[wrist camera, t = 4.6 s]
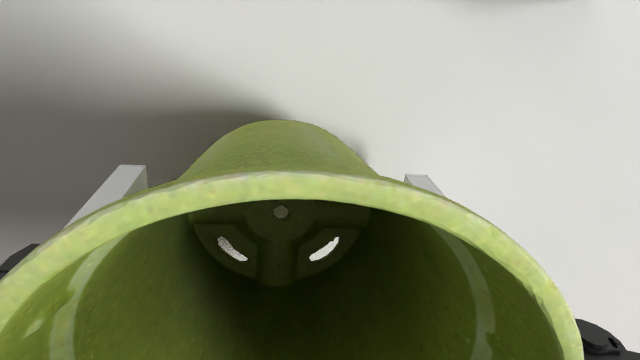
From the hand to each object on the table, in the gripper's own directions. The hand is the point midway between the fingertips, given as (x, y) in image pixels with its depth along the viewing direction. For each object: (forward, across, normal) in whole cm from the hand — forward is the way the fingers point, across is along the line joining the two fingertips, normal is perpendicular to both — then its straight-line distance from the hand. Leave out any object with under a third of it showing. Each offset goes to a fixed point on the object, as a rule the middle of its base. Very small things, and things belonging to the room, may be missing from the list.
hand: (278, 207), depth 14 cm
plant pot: (+1, 0, 0) cm, 1 cm away
